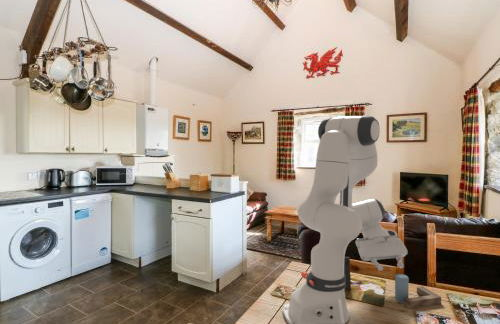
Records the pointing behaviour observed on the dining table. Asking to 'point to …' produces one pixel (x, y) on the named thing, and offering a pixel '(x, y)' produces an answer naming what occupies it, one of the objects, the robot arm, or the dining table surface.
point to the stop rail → (423, 298)
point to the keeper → (401, 287)
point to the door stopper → (347, 272)
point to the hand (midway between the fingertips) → (391, 268)
